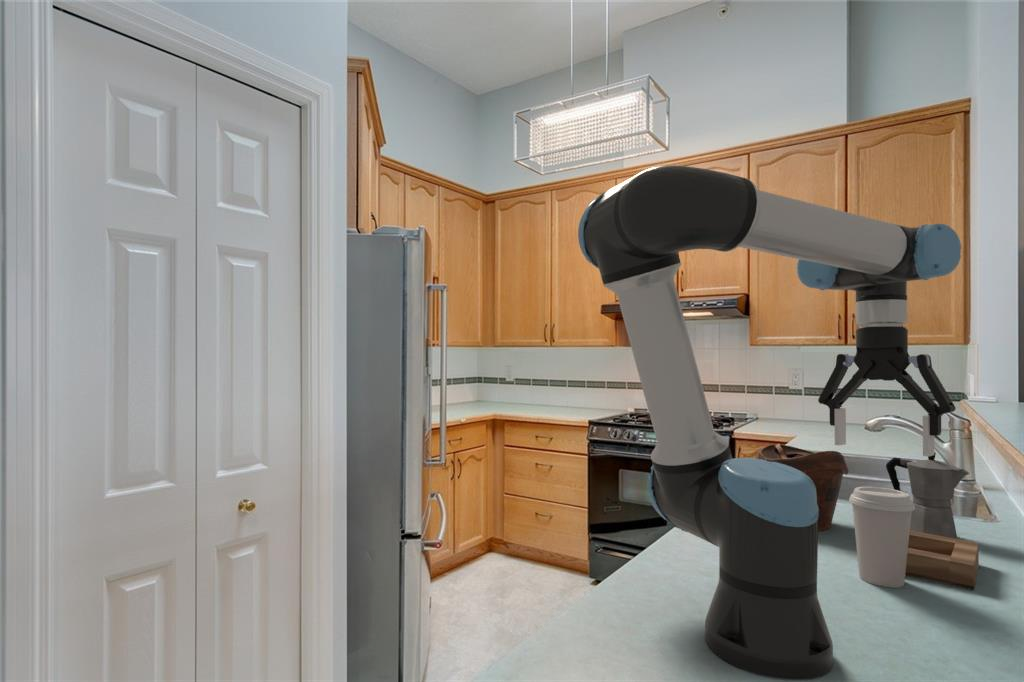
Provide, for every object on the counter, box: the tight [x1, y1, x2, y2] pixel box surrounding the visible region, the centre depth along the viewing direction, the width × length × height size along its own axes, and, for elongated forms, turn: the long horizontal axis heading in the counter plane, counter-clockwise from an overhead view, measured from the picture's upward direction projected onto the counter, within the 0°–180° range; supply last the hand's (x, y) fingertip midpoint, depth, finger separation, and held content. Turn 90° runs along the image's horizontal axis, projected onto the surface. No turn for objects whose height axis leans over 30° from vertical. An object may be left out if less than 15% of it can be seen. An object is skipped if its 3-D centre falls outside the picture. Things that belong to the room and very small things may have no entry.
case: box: [754, 442, 850, 532], centre depth 133 cm, size 18×20×18 cm
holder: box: [905, 531, 979, 591], centre depth 106 cm, size 16×16×4 cm
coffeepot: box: [885, 451, 970, 539], centre depth 126 cm, size 15×9×18 cm, turn 35°
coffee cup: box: [848, 486, 915, 589], centre depth 99 cm, size 10×10×15 cm
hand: (882, 450), depth 99 cm, fingers open, 13 cm apart
